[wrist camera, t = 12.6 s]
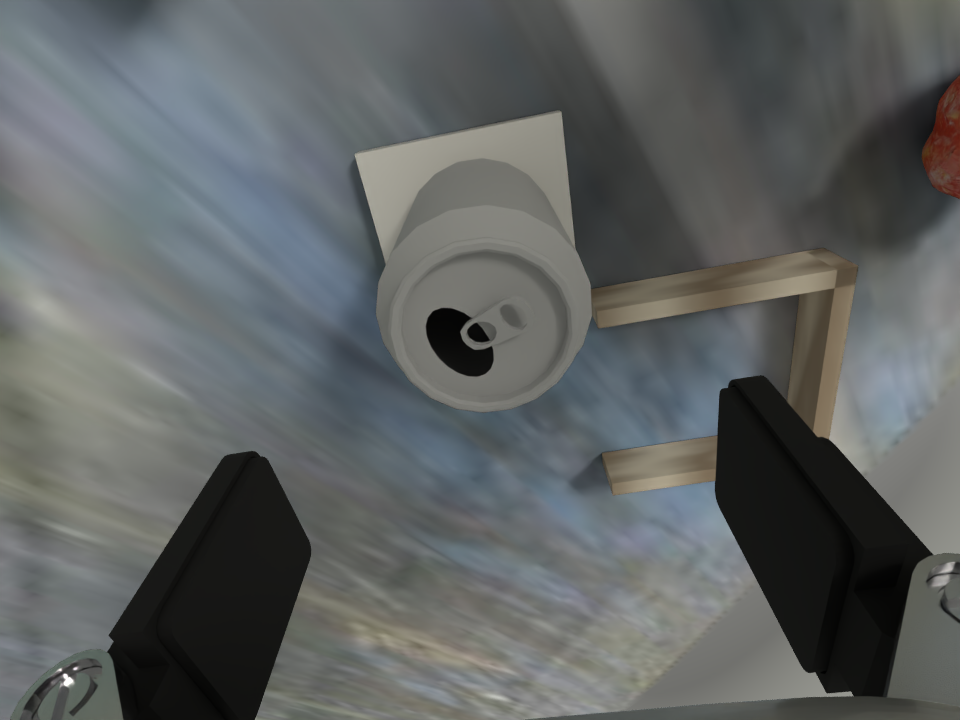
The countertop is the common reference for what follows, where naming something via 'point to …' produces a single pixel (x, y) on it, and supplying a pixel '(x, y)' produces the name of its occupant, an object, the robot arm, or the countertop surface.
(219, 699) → the robot arm
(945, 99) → the red tomato
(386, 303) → the can
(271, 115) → the countertop surface
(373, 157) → the tile
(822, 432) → the open wooden frame
